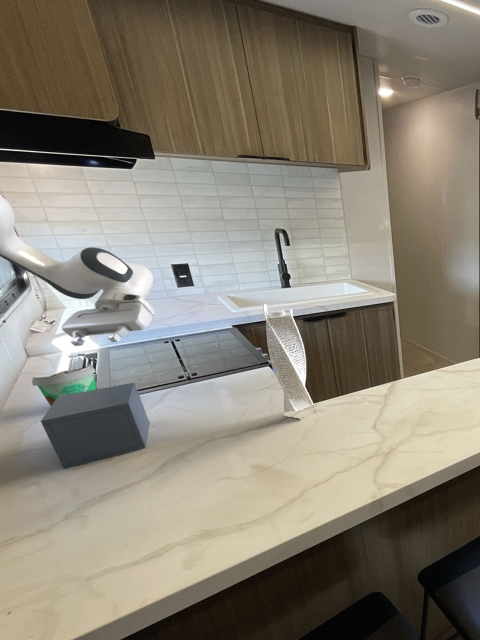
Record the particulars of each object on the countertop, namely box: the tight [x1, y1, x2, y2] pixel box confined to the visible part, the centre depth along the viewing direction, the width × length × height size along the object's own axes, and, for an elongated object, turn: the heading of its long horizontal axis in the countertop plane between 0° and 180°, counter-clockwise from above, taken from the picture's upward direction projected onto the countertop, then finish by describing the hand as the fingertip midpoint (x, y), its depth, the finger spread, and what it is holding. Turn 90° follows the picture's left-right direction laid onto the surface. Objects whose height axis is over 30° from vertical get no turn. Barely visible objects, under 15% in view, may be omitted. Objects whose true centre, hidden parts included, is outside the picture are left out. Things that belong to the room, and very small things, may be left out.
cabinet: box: [40, 382, 150, 469], centre depth 88 cm, size 15×13×11 cm
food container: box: [31, 362, 98, 407], centre depth 108 cm, size 12×6×10 cm, turn 160°
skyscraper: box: [262, 303, 315, 414], centre depth 97 cm, size 8×8×28 cm
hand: (94, 342), depth 107 cm, fingers open, 8 cm apart
